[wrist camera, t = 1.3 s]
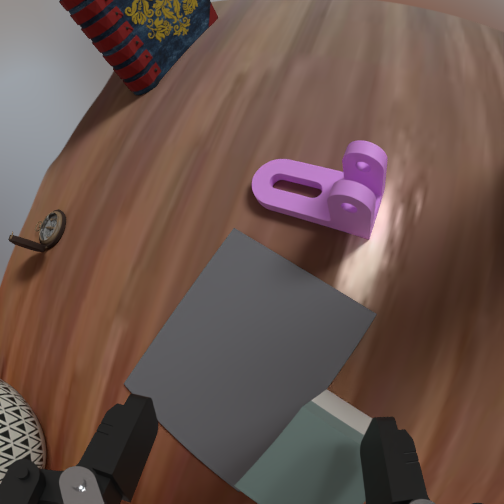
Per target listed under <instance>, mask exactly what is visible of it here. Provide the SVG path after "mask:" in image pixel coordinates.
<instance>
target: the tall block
mask: <svg viewBox="0 0 504 504" xmlns="http://www.w3.org/2000/svg"><path fill="white" fill-rule="evenodd" d="M371 420H372V418H371V417H369V416H367V415H366V414H364V413H363V412H361V411H359V410H358V409H356V408H355V407H353V406H352V405H350V404H349V403H347V402H345V401H344V400H342V399H341V398H339V397H338V396H336V395H335V394H333V393H332V392H330V391H329V390H327V389H326V390H325V391H323V392H322V393H321V394H319V395H318V396H317V397H315V398H314V399H312V400H311V401H310V402H308V403H307V404H305V405H304V406H303V407H302V408H301V409H300V410H299V412H298V413H297V414H296V416H295V417H294V418H293V419H292V421H291V422H290V423H289V424H288V425H287V427H286V428H285V429H284V430H283V432H282V433H281V434H280V435H279V436H278V438H277V439H276V440H275V441H274V442H273V443H272V445H271V446H270V447H269V448H268V449H267V450H266V452H265V453H264V454H263V455H262V456H261V457H260V458H259V460H258V461H257V462H256V463H255V464H254V465H253V466H252V467H251V468H250V469H249V471H248V472H247V473H246V474H245V475H244V476H243V477H242V478H241V479H240V480H239V481H238V482H237V483H236V484H235V485H234V486H235V487H236V488H238V489H239V490H240V491H242V492H243V493H244V494H246V495H247V496H248V497H250V498H251V499H252V500H254V501H255V502H257V503H258V504H363V503H364V502H365V501H366V499H365V490H364V482H363V474H362V466H361V458H360V445H361V441H362V439H363V437H364V435H365V433H366V431H367V428H368V426H369V424H370V422H371Z"/></svg>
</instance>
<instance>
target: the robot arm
mask: <svg viewBox="0 0 504 504" xmlns="http://www.w3.org/2000/svg"><path fill="white" fill-rule="evenodd" d="M157 432H158V420H157V416H156V412H155V409H154V405H153V401H152V398H150V397H146V396H141V395H137V394H130V395H129V397H128V399H127V400H126V402H125V404H124V405H121V404H116V405H115V406H113V407H112V408H111V409H110V410H108V411H107V413H106V414H105V416H104V418H103V420H102V422H101V424H100V425H99V427H98V429H97V432H95V434H94V436H93V438H92V440H91V442H90V443H89V445H88V447H87V449H86V451H85V453H84V455H83V456H82V458H81V460H80V462H79V463H78V464H77V465H76V466H74V467H70V468H68V469H66V470H65V471H53V470H46V469H39V468H38V467H37V465H36V464H35V463H34V462H32V461H31V460H28V459H19V460H16V461H15V462H13V463H12V464H11V465H10V467H9V469H8V471H7V472H6V474H5V476H4V478H3V480H2V482H1V484H0V504H120V502H121V500H124V501H127V502H131V500H132V497H133V495H134V492H135V490H136V487H137V484H138V482H139V479H140V477H141V474H142V471H143V469H144V466H145V464H146V461H147V458H148V456H149V453H150V451H151V448H152V446H153V443H154V441H155V438H156V435H157ZM360 458H361V466H362V474H363V482H364V490H365V499H366V504H435V503H434V502H432V501H430V499H429V498H428V496H427V492H426V488H425V484H424V479H423V475H422V471H421V467H420V464H419V462H418V456H417V453H416V449H415V445H414V441H413V439H412V438H411V436H410V435H409V434H408V433H407V431H406V430H405V429H404V430H398V429H397V425H396V421H395V419H394V417H376V418H373V419H372V420H371V422H370V424H369V426H368V428H367V431H366V433H365V435H364V437H363V439H362V441H361V445H360ZM473 504H482V503H473Z"/></svg>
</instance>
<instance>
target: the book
mask: <svg viewBox="0 0 504 504" xmlns="http://www.w3.org/2000/svg"><path fill="white" fill-rule="evenodd" d="M60 4H61V5H62V6H63V7H64V8H65V9H66V10H67V11H69V12H70V14H71V15H70V16H71V17H72V18H73V20H74V21H75V22H76V23H77V25H80V26H81V27H82V29H81V30H82V31H83V32H84V33H85V35H86V36H87V37H88V38H89V39H91V40H92V43H93V45H94V46H95V47H96V48H97V49H98V51H99V52H100V53H102V54H103V57H104V58H105V60H106V61H107V62H108V63H109V64H110V65H111V66H113V70H114V71H115V72H116V73H117V75H118V76H119V77H120V78H121V79H123V82H124V84H125V85H126V86H127V87H128V88H129V89H130V91H131V92H133V93H134V94H135V95H141V94H144V93H147V92H149V91H150V90H152V89H153V88H155V87H156V86H157V85H158V83H159V81H160V80H161V79H162V78H163V76H164V75H165V74H166V73H167V72H168V71H169V69H170V68H171V67H172V66H173V65H174V64H175V63H176V61H177V60H178V59H179V58H180V57H181V56H182V55H183V54H184V52H185V51H186V50H187V49H188V48H189V47H190V46H191V45H192V44H193V43H194V42H195V41H196V40H197V39H198V38H199V37H200V35H201V34H202V33H203V32H204V31H205V30H206V29H207V28H208V27H210V26H211V25H212V24H213V23H214V22H215V21H216V20H217V19H218V16H217V14H216V12H215V10H214V8H213V6H212V4H211V2H210V0H60Z"/></svg>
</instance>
